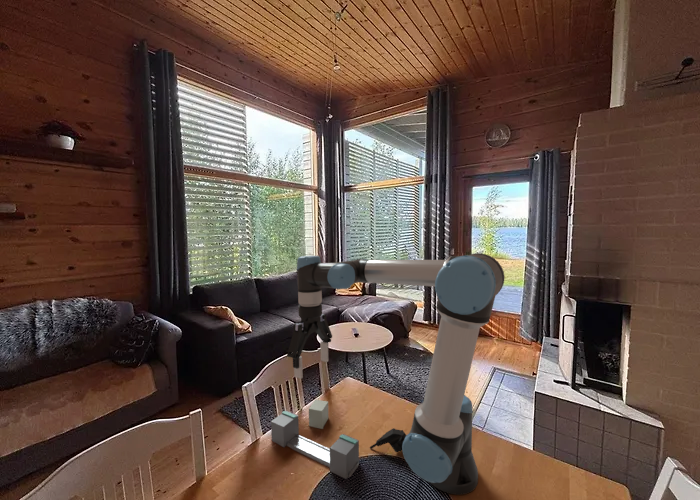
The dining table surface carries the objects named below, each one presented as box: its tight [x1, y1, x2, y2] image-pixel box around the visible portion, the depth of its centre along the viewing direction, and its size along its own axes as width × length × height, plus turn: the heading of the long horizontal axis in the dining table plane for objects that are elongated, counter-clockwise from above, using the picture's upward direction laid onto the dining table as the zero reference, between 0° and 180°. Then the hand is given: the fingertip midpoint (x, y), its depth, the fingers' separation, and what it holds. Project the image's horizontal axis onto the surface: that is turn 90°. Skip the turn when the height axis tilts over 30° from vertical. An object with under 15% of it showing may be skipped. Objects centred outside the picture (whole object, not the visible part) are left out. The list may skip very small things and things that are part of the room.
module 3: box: [329, 433, 360, 480], centre depth 89 cm, size 6×7×7 cm
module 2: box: [308, 399, 329, 430], centre depth 109 cm, size 5×6×7 cm
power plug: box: [369, 427, 407, 453], centre depth 95 cm, size 6×8×12 cm
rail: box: [285, 434, 360, 478], centre depth 95 cm, size 30×5×1 cm, turn 58°
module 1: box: [270, 410, 300, 448], centre depth 101 cm, size 6×7×7 cm
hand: (312, 368), depth 99 cm, fingers open, 13 cm apart
